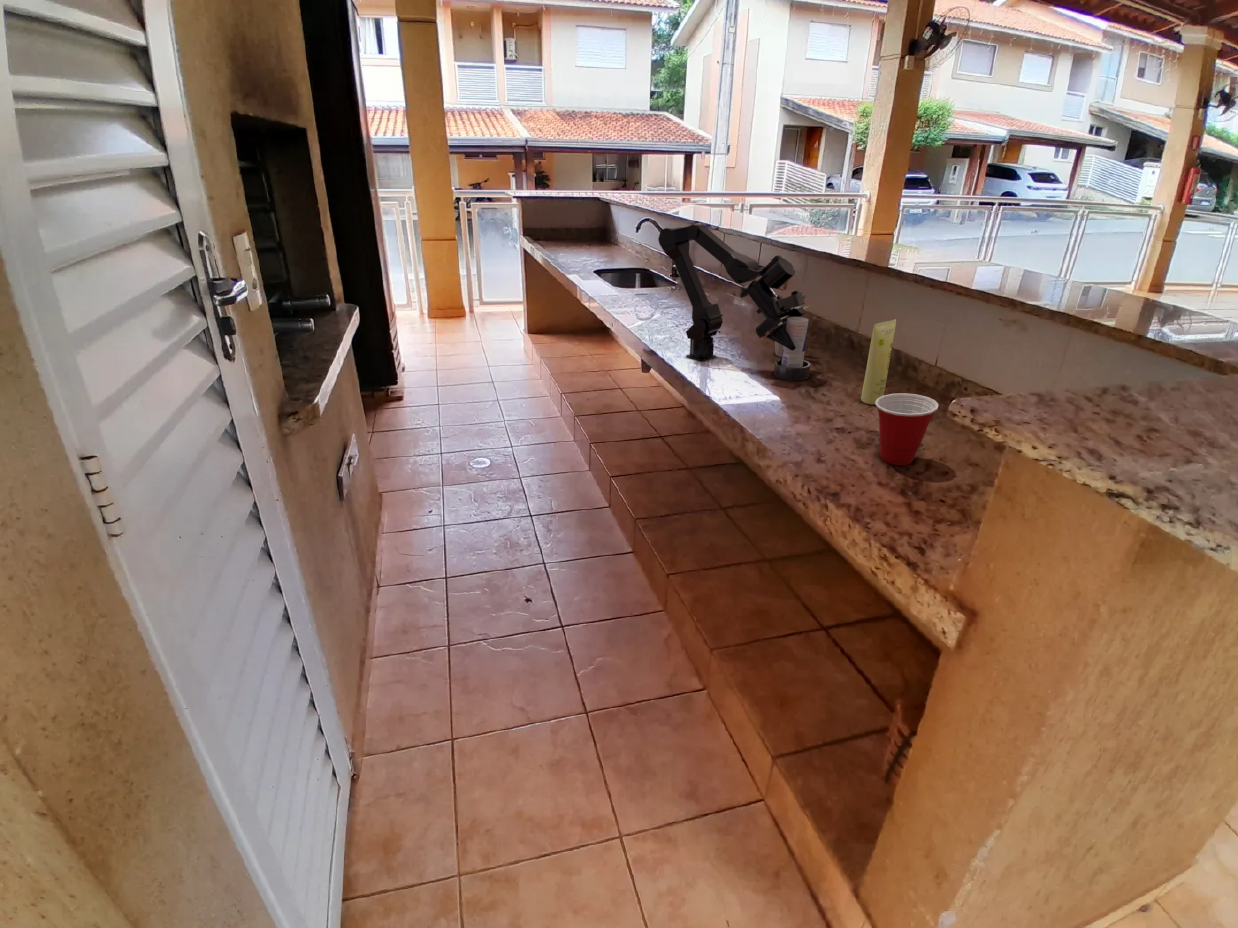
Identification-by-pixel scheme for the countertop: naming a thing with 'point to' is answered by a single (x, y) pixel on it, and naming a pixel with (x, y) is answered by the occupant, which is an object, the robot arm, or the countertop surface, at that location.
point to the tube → (878, 361)
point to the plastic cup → (903, 425)
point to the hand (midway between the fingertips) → (799, 347)
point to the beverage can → (795, 342)
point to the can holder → (792, 371)
